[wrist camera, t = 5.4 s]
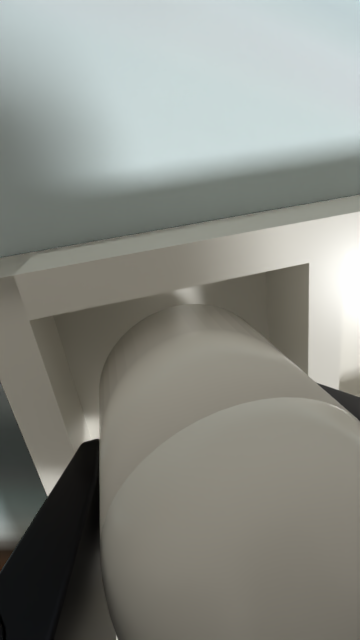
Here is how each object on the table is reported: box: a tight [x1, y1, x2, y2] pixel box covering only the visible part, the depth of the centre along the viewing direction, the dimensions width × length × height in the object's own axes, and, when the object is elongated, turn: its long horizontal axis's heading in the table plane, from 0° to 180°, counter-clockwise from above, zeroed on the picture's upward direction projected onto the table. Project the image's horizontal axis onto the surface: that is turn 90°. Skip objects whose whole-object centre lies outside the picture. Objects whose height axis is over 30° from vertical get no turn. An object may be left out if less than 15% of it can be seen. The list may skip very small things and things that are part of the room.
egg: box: [99, 304, 360, 640], centre depth 7 cm, size 5×5×7 cm
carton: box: [0, 195, 360, 640], centre depth 12 cm, size 24×16×8 cm
